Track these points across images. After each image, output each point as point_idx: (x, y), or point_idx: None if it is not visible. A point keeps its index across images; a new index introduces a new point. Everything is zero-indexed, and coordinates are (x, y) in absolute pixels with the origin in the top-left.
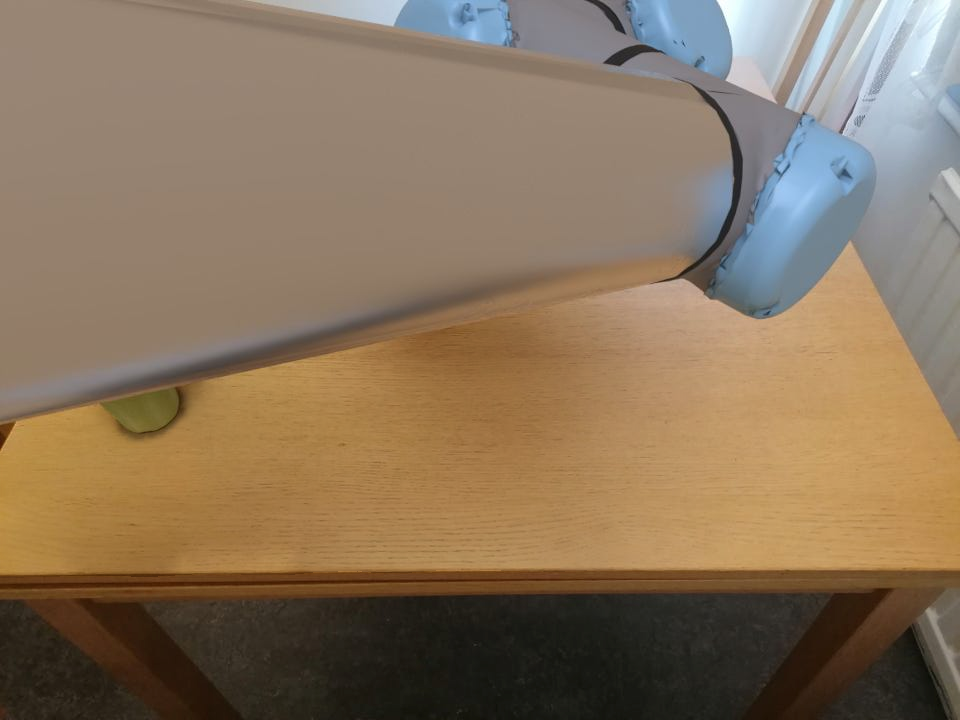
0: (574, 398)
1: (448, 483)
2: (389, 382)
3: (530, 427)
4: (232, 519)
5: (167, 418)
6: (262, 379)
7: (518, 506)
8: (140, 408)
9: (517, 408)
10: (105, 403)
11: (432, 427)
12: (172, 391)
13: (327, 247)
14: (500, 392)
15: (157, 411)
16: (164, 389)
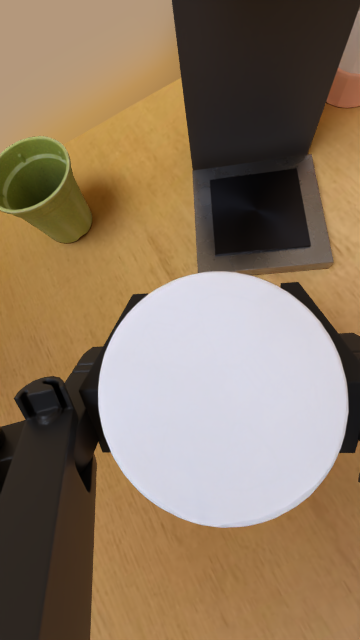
0: (294, 617)
1: (115, 515)
2: None
3: (222, 575)
4: (13, 351)
5: (63, 240)
6: (137, 272)
7: (123, 611)
8: (30, 223)
9: (238, 544)
10: (2, 200)
11: None
12: (69, 227)
13: None
14: None
15: (49, 233)
16: (52, 223)
